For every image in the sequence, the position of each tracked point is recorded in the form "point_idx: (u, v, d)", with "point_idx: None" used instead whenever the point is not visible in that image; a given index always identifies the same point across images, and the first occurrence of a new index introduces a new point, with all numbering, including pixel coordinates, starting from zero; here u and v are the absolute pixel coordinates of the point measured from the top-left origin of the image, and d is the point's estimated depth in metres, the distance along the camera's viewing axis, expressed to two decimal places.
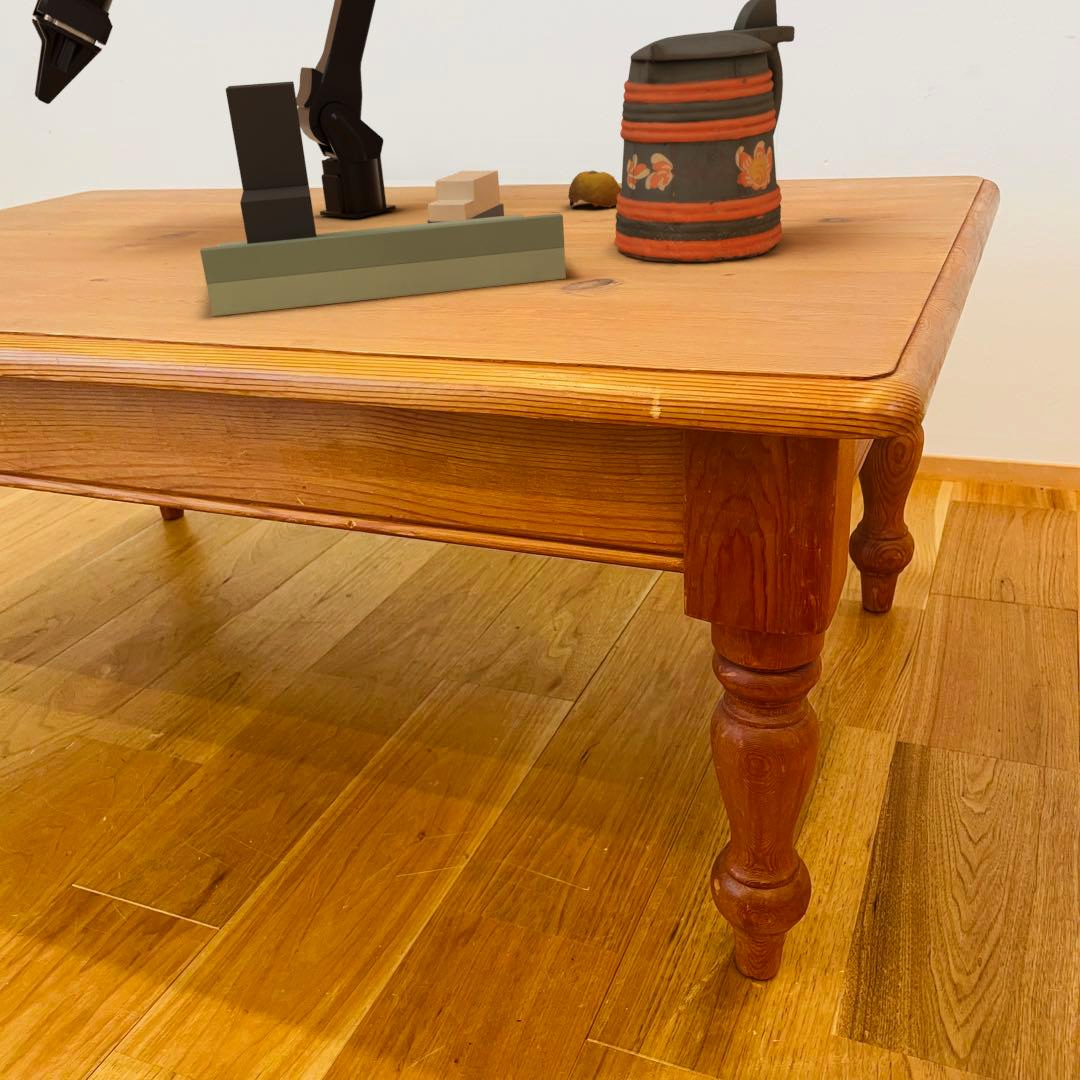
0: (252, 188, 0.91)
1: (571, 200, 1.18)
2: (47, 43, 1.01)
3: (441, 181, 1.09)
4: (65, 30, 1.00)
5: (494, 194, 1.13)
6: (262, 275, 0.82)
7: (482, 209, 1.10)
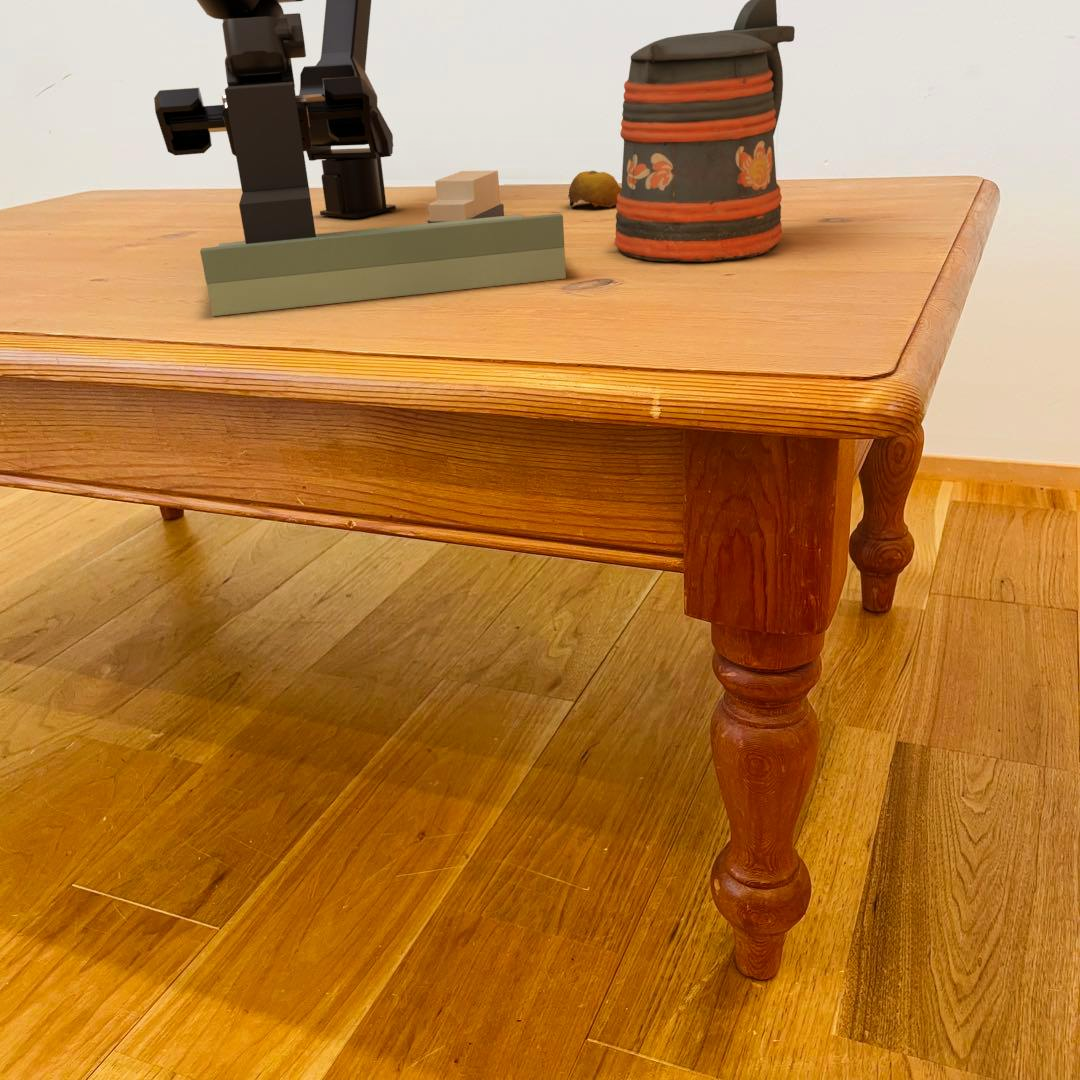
0: (251, 190, 0.90)
1: (571, 200, 1.18)
2: None
3: (441, 181, 1.09)
4: (308, 122, 0.98)
5: (494, 194, 1.13)
6: (262, 275, 0.82)
7: (482, 209, 1.10)
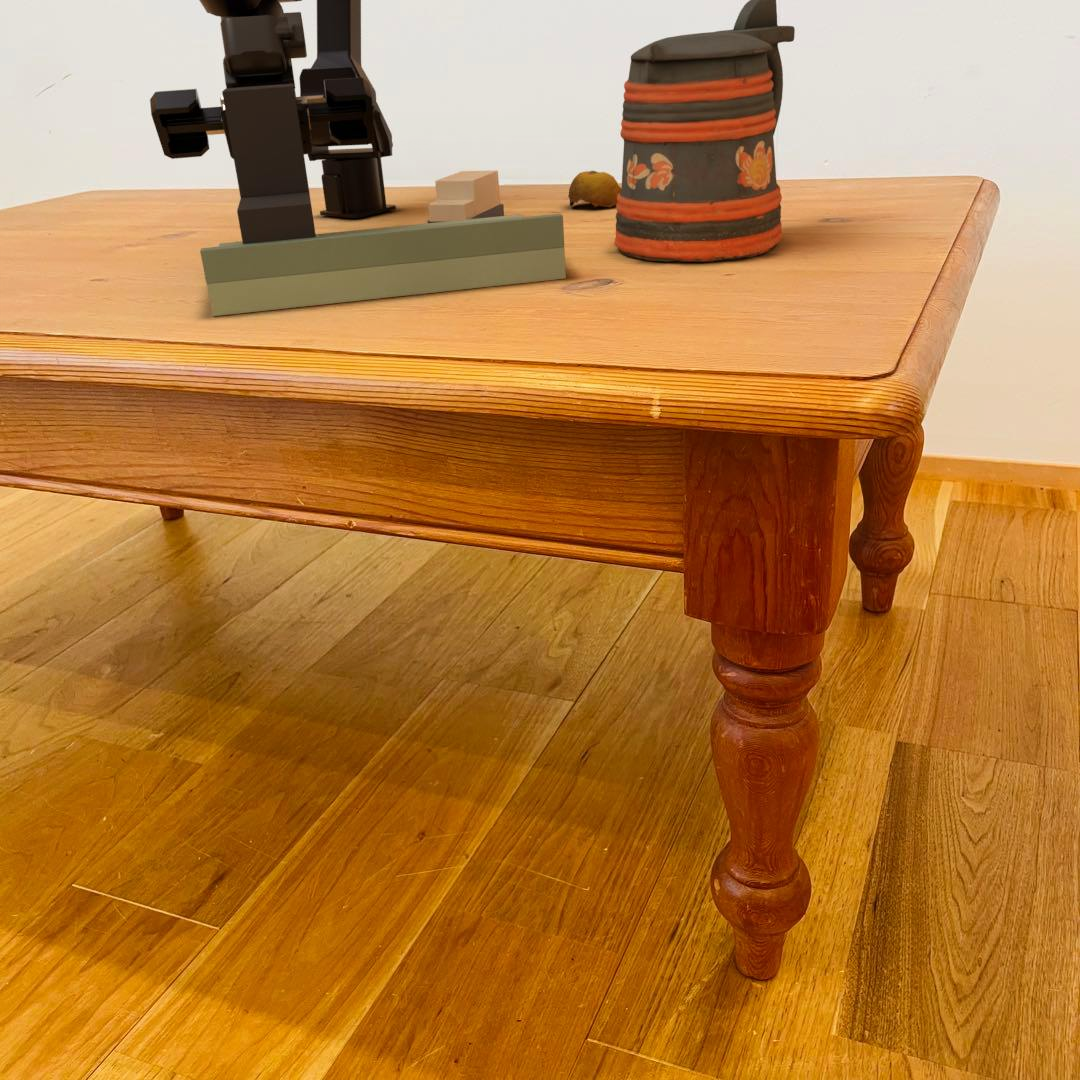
0: (250, 195, 0.87)
1: (571, 200, 1.18)
2: None
3: (441, 181, 1.09)
4: None
5: (494, 194, 1.13)
6: (262, 275, 0.82)
7: (482, 209, 1.10)
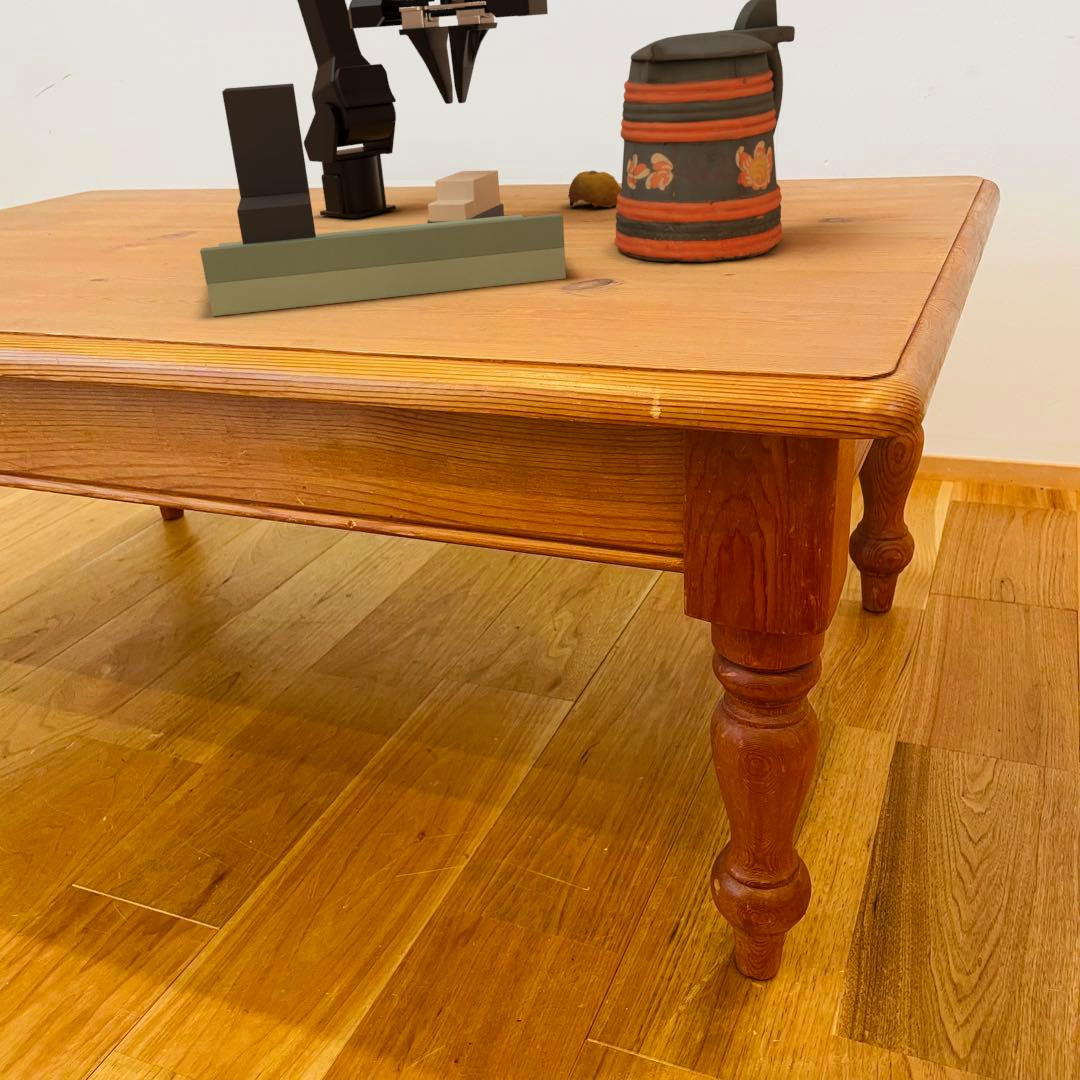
0: (250, 195, 0.87)
1: (571, 200, 1.18)
2: None
3: (441, 181, 1.09)
4: None
5: (494, 194, 1.13)
6: (262, 275, 0.82)
7: (482, 209, 1.10)
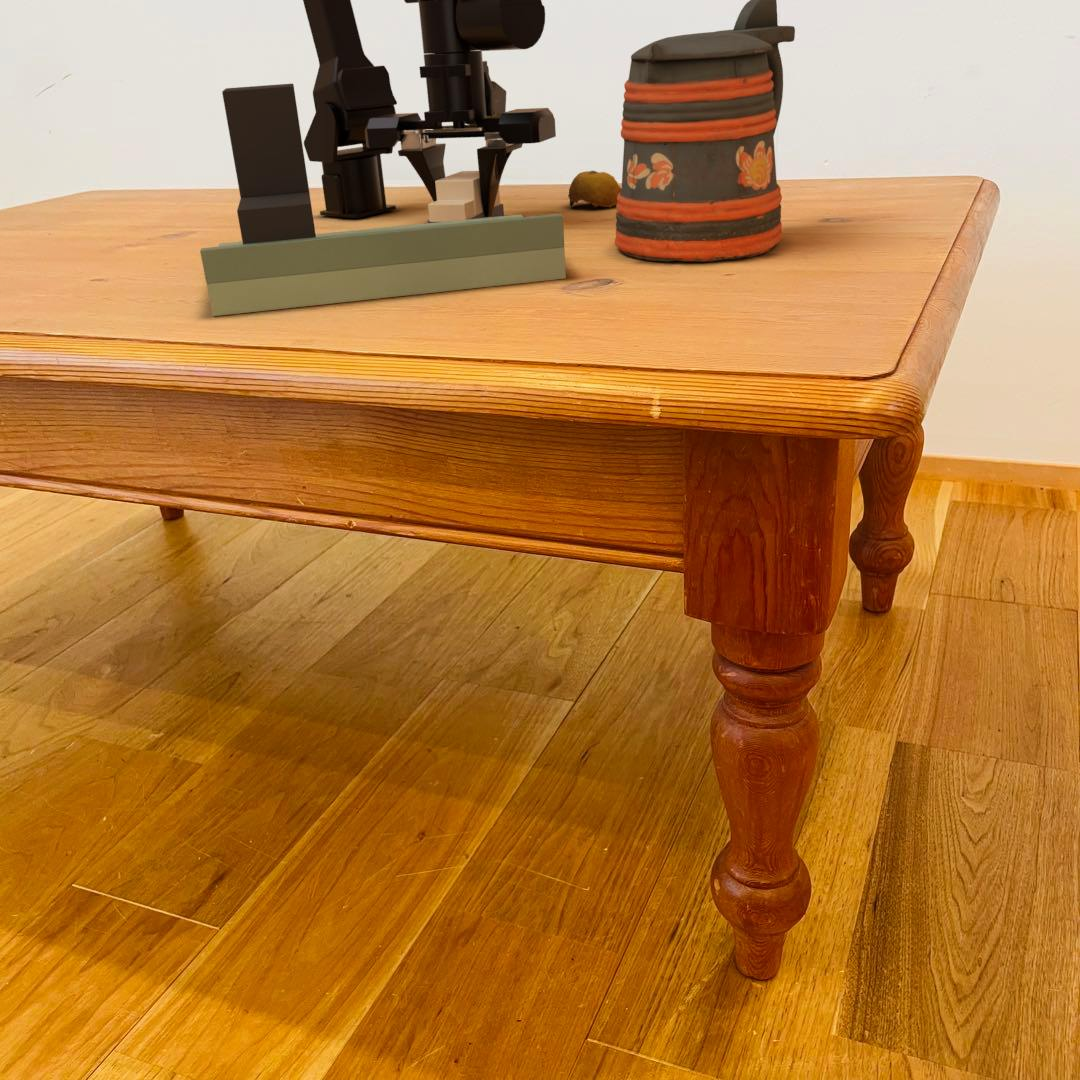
0: (250, 195, 0.87)
1: (571, 200, 1.18)
2: None
3: (441, 181, 1.09)
4: None
5: None
6: (262, 275, 0.82)
7: (482, 209, 1.10)
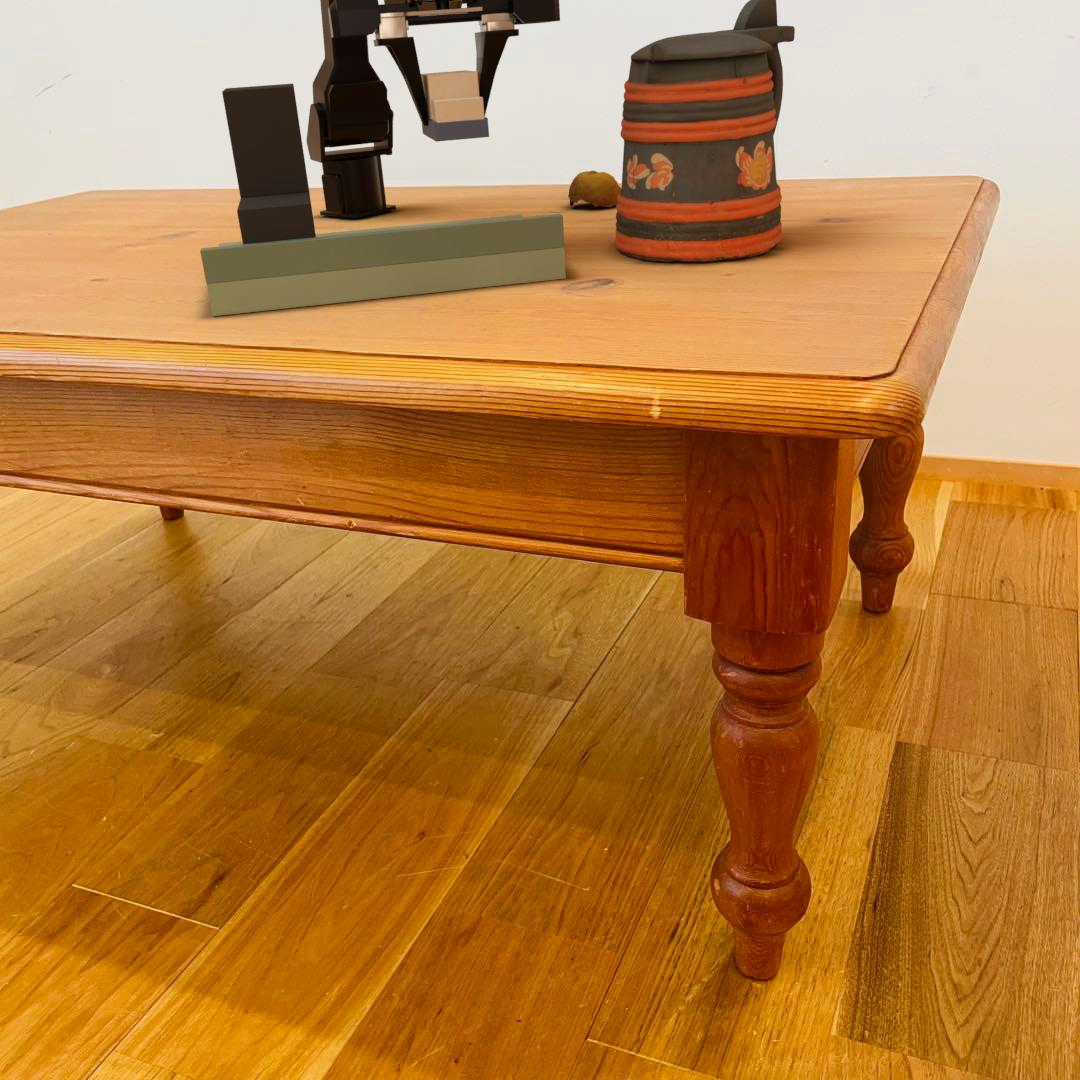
0: (250, 195, 0.87)
1: (571, 200, 1.18)
2: (395, 62, 0.91)
3: (435, 75, 0.89)
4: (375, 40, 0.89)
5: None
6: (262, 275, 0.82)
7: None
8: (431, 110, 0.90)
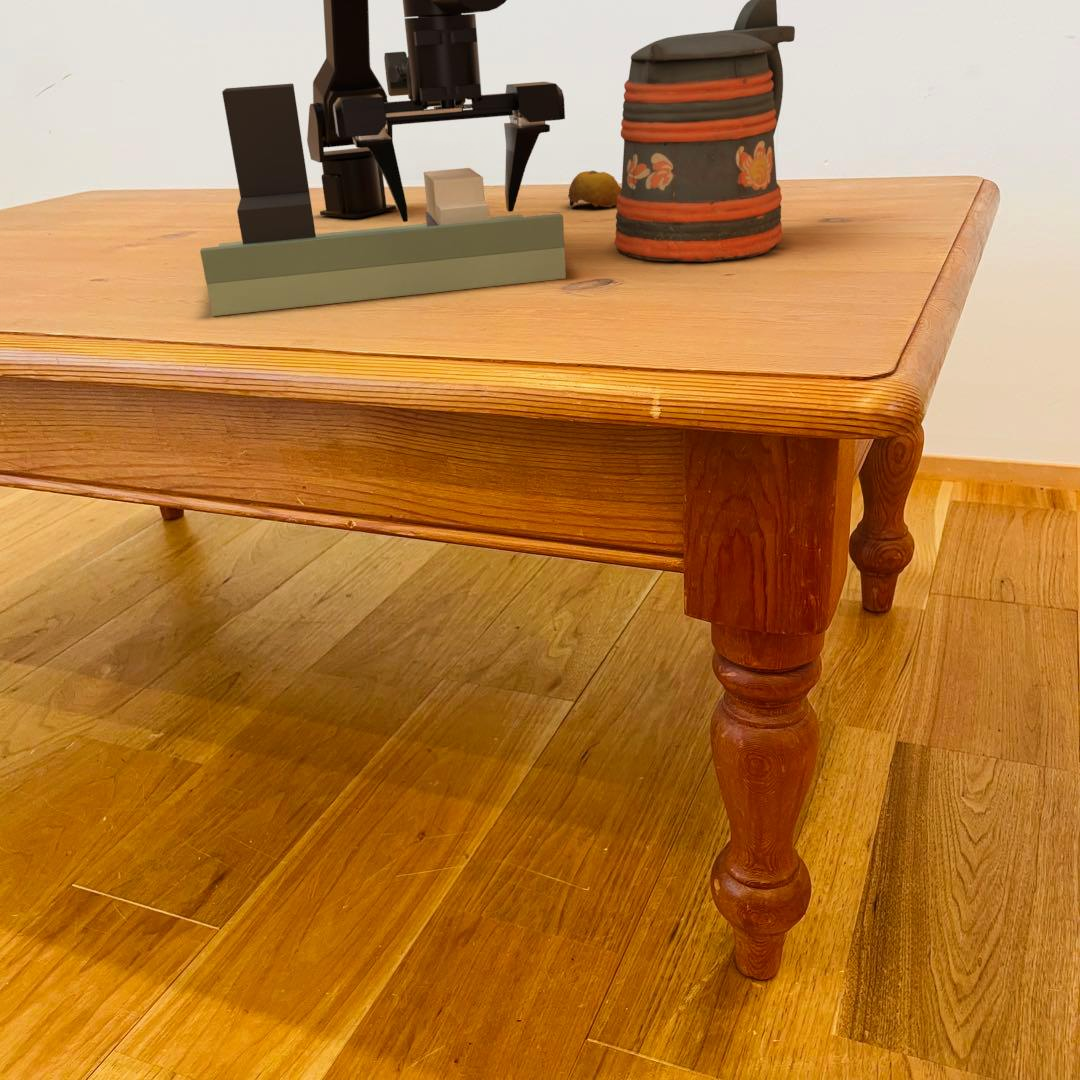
0: (250, 195, 0.87)
1: (571, 200, 1.18)
2: (374, 158, 0.91)
3: (441, 181, 0.89)
4: (354, 139, 0.89)
5: None
6: (262, 275, 0.82)
7: None
8: (437, 214, 0.90)
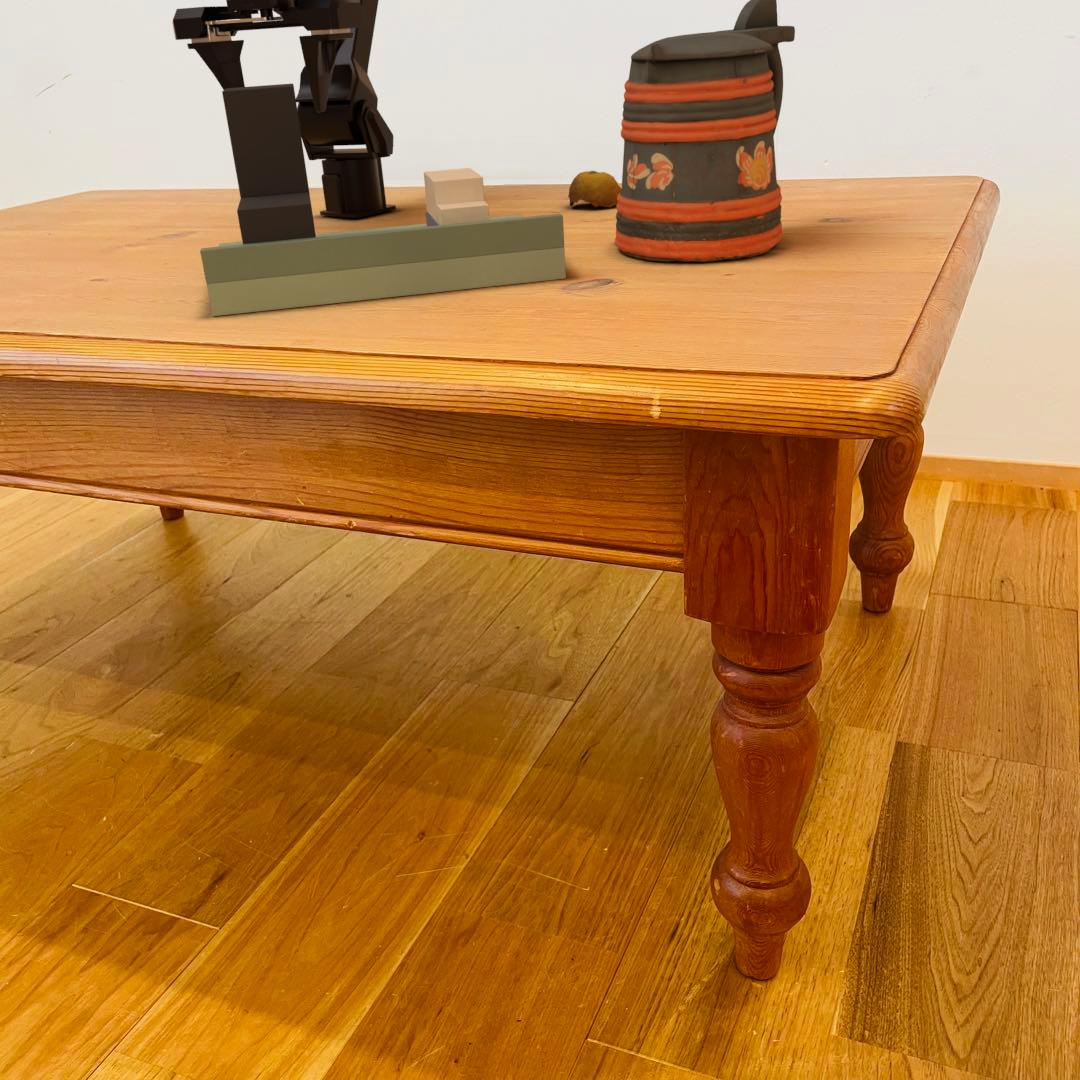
0: (250, 195, 0.87)
1: (571, 200, 1.18)
2: None
3: (441, 181, 0.89)
4: None
5: None
6: (262, 275, 0.82)
7: None
8: (437, 214, 0.90)
